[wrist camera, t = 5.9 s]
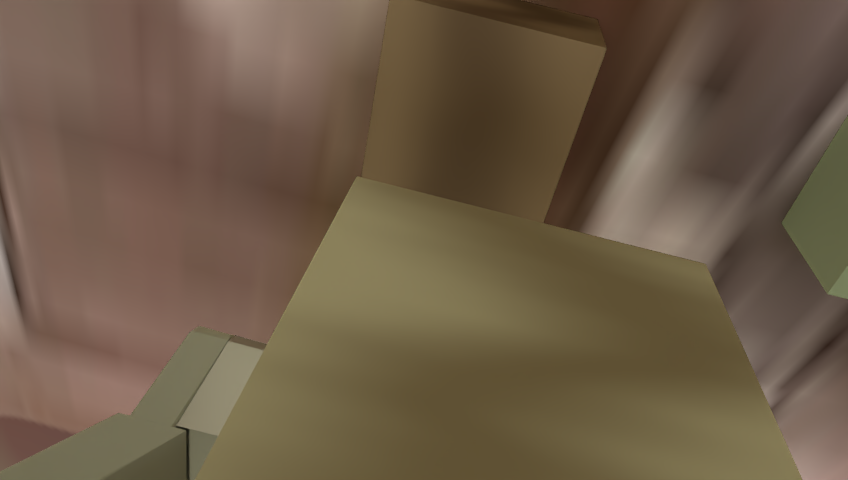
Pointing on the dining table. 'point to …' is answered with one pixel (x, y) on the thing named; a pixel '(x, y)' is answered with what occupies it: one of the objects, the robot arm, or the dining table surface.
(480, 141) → the brown square block
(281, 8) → the dining table surface
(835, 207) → the green cube
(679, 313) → the birch cube
